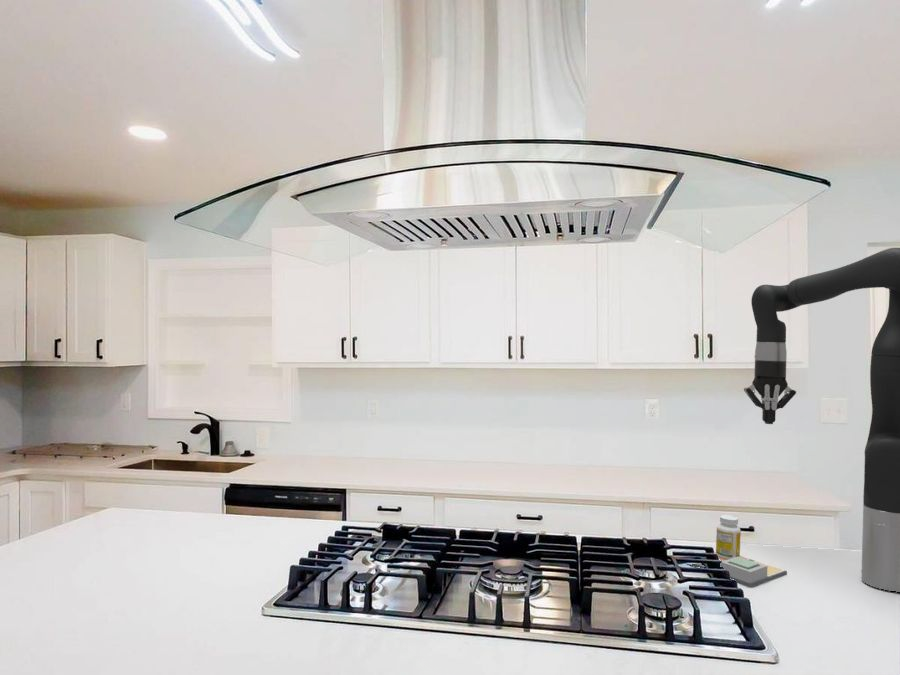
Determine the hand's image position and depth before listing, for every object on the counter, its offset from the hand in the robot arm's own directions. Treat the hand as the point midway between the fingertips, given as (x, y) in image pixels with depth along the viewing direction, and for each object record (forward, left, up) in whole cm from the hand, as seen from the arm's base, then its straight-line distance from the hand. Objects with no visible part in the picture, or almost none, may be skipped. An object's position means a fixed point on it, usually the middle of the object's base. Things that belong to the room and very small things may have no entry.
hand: (768, 423), depth 165 cm
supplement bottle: (-3, +22, -31) cm, 38 cm away
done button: (-11, +30, -31) cm, 44 cm away
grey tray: (-7, +26, -32) cm, 42 cm away
